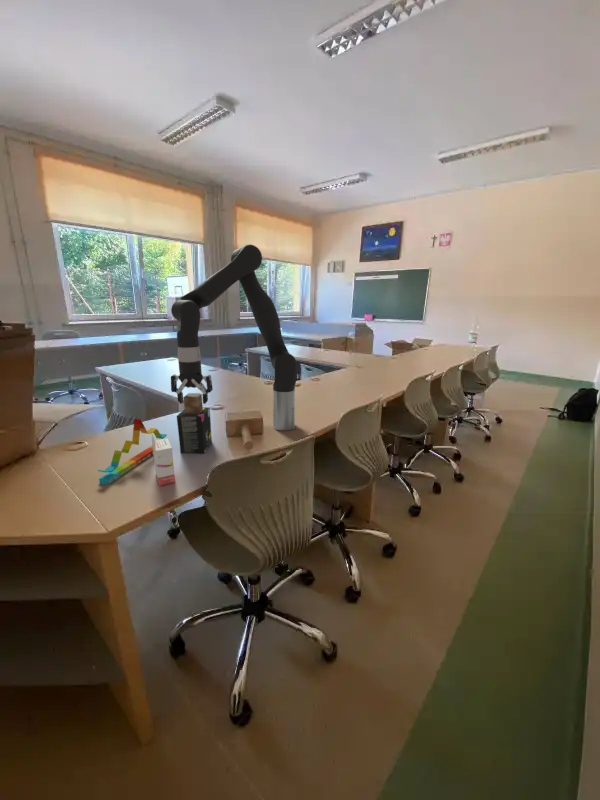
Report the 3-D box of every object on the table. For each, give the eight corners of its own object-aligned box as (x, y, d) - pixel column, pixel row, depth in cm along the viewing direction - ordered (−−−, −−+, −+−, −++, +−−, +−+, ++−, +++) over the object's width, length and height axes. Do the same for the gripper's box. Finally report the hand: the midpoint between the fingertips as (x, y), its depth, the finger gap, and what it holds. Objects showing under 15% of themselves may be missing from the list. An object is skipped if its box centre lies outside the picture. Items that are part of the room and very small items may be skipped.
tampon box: (204, 454, 124) (202, 416, 120) (179, 453, 124) (175, 415, 120) (212, 441, 135) (210, 406, 130) (189, 441, 135) (186, 406, 130)
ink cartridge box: (176, 482, 105) (171, 438, 101) (159, 486, 103) (153, 441, 98) (171, 470, 112) (166, 429, 108) (155, 474, 110) (150, 431, 105)
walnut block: (202, 409, 127) (201, 393, 126) (198, 413, 123) (197, 397, 121) (189, 408, 127) (188, 392, 126) (184, 413, 123) (183, 396, 121)
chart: (108, 485, 103) (100, 440, 99) (99, 483, 104) (91, 438, 100) (169, 445, 131) (165, 408, 127) (162, 444, 132) (157, 407, 128)
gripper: (212, 357, 123) (215, 400, 128) (173, 357, 123) (177, 399, 128) (206, 361, 116) (209, 406, 121) (165, 360, 116) (169, 406, 121)
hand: (193, 403), depth 124 cm, fingers open, 8 cm apart
